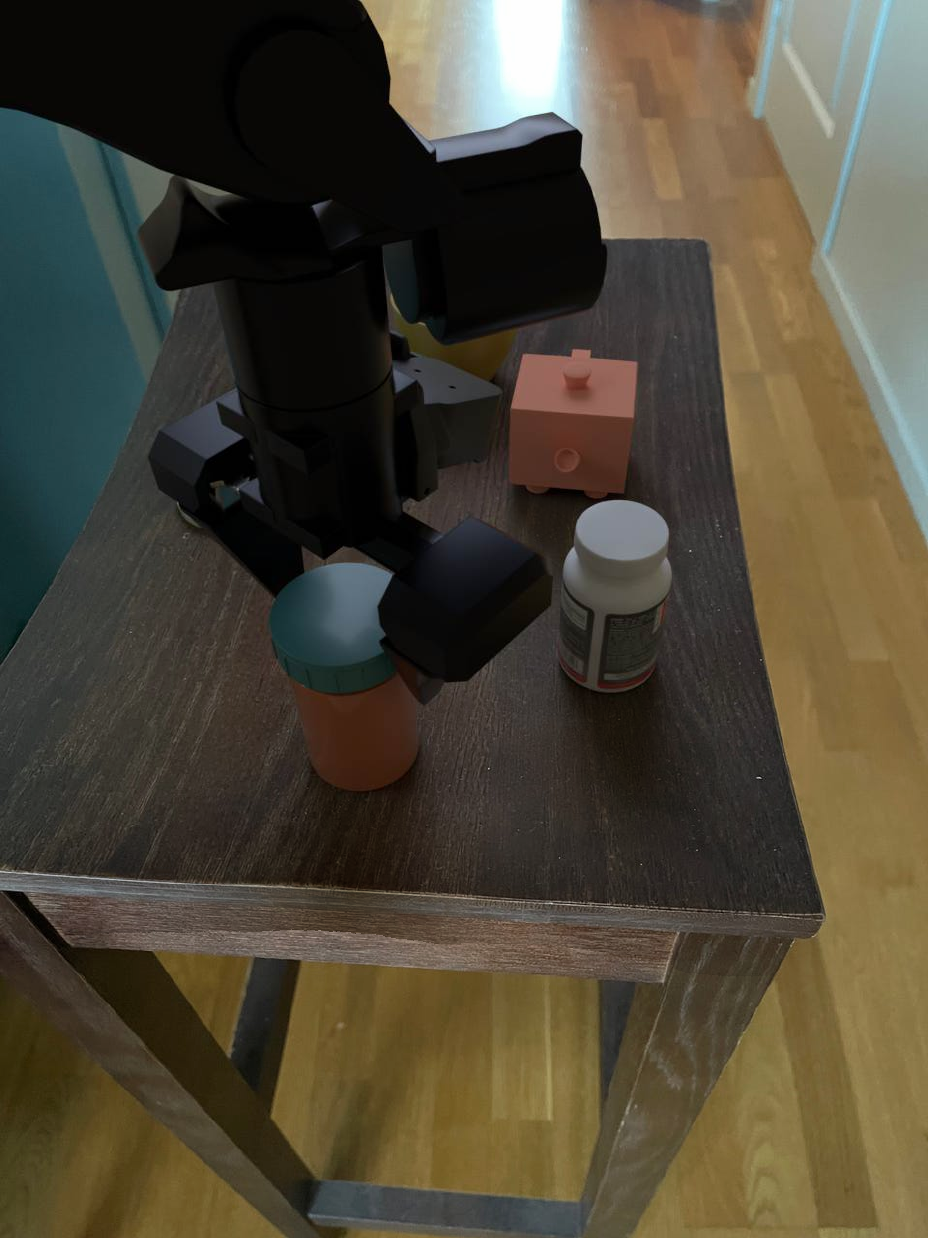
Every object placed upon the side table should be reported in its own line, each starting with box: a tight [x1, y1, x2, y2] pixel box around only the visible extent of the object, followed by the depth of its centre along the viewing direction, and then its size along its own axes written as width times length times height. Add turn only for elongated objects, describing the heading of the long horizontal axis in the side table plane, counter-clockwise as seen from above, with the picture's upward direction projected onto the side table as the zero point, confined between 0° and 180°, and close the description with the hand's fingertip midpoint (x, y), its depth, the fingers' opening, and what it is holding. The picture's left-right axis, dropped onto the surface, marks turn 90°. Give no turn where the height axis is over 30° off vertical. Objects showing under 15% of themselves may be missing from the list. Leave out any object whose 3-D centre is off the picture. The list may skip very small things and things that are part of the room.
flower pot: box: [389, 292, 519, 383], centre depth 71 cm, size 10×10×7 cm
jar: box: [288, 672, 421, 792], centre depth 46 cm, size 6×6×10 cm
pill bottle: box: [557, 499, 673, 693], centre depth 49 cm, size 6×6×10 cm
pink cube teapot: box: [508, 348, 639, 499], centre depth 62 cm, size 8×12×8 cm, turn 171°
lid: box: [268, 562, 397, 694], centre depth 42 cm, size 7×7×2 cm
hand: (359, 649), depth 45 cm, fingers open, 9 cm apart
